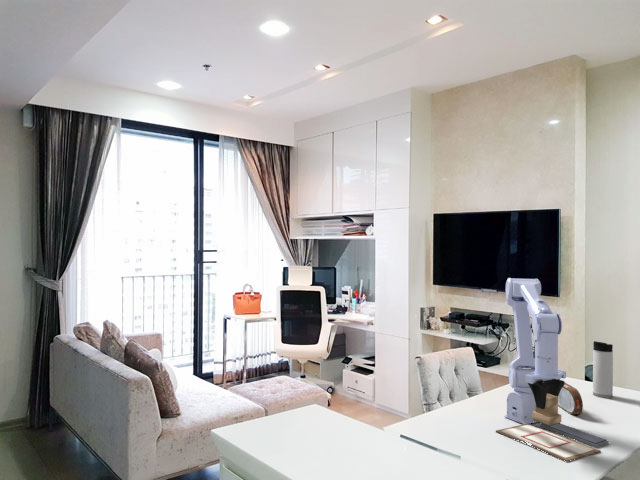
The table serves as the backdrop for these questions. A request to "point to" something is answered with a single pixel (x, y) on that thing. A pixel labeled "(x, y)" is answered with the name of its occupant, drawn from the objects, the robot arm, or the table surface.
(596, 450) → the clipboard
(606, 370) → the travel mug
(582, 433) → the ink pad
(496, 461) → the table surface
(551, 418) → the stamp
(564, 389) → the tin
